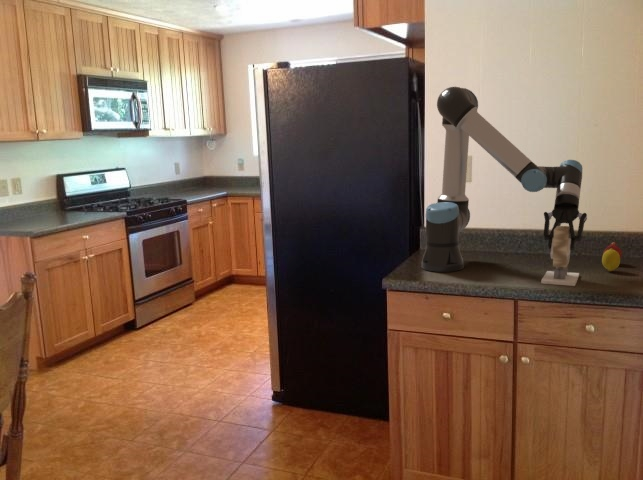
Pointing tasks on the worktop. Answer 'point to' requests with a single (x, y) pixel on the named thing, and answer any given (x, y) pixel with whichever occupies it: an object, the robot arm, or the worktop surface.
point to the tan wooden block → (560, 246)
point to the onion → (614, 248)
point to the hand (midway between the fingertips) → (559, 256)
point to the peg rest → (560, 277)
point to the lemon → (611, 259)
